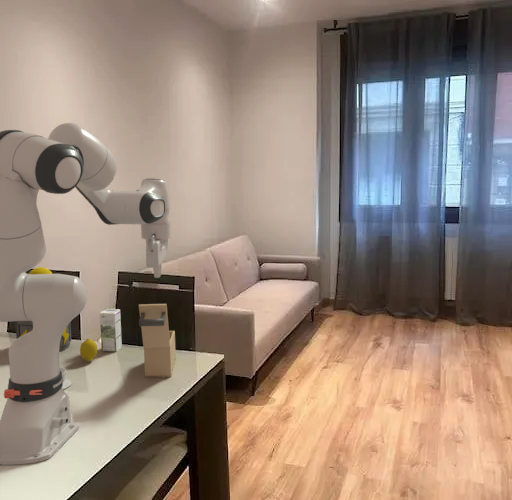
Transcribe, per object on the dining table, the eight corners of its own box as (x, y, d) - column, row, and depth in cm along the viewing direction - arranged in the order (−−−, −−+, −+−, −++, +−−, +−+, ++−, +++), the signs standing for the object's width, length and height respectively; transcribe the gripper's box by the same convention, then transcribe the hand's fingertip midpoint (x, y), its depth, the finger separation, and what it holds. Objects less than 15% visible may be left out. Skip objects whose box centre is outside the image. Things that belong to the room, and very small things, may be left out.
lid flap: (170, 346, 158) (168, 359, 153) (143, 346, 157) (141, 359, 152) (166, 303, 150) (164, 315, 145) (138, 304, 150) (136, 316, 144)
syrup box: (122, 346, 188) (120, 308, 186) (116, 352, 182) (114, 312, 180) (107, 346, 189) (105, 308, 187) (101, 351, 183) (99, 312, 181)
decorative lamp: (82, 342, 194) (78, 264, 190) (48, 358, 176) (43, 273, 172) (41, 337, 200) (36, 261, 195) (4, 353, 182) (-2, 270, 178)
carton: (171, 377, 159) (170, 346, 158) (145, 377, 159) (143, 346, 158) (175, 359, 175) (174, 330, 174) (152, 359, 175) (151, 331, 173)
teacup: (59, 394, 147) (58, 379, 147) (28, 392, 149) (27, 376, 149) (78, 381, 157) (77, 366, 156) (49, 379, 159) (48, 364, 158)
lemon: (94, 364, 171) (93, 341, 169) (78, 364, 171) (77, 341, 170) (100, 358, 176) (99, 336, 175) (84, 358, 176) (82, 336, 175)
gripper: (162, 236, 146) (163, 283, 148) (170, 228, 166) (171, 270, 168) (139, 236, 146) (141, 284, 148) (150, 228, 166) (152, 270, 168)
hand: (157, 276), depth 158 cm, fingers closed
